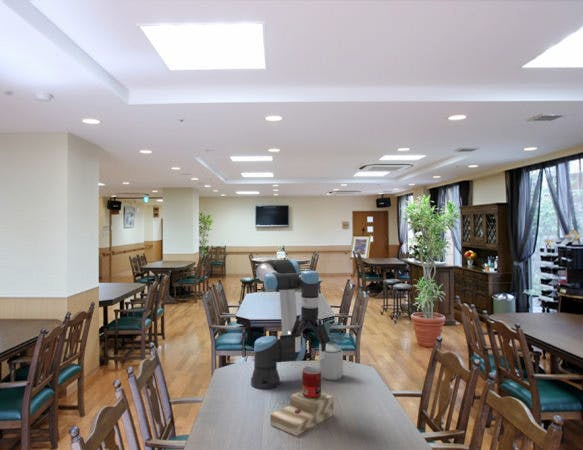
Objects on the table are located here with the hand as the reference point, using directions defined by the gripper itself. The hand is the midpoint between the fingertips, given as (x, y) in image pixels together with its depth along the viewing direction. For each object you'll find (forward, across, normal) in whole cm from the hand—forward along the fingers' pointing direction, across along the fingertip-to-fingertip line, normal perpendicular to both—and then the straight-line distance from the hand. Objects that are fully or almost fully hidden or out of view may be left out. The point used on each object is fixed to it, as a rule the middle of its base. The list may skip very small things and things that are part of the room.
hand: (309, 354), depth 176 cm
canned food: (+16, +3, -2) cm, 17 cm away
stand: (+24, +3, -8) cm, 26 cm away
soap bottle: (+26, -17, +39) cm, 49 cm away
